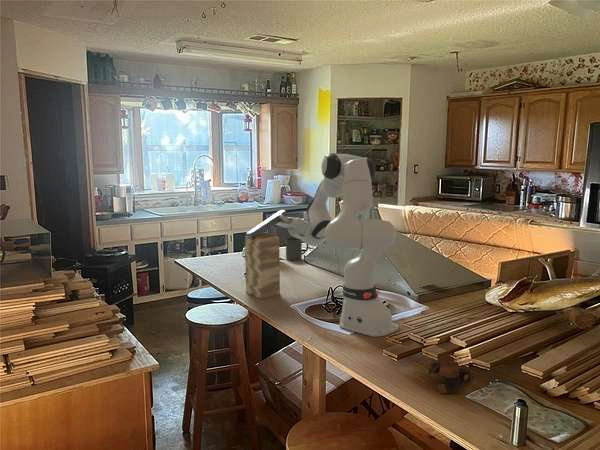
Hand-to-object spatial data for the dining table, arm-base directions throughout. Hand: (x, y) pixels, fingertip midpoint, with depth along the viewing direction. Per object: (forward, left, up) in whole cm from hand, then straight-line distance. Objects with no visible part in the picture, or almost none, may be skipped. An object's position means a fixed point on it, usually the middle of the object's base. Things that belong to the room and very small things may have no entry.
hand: (276, 215), depth 216 cm
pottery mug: (-102, +18, -35) cm, 109 cm away
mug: (+41, -46, -35) cm, 71 cm away
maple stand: (0, +8, -35) cm, 36 cm away
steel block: (0, +5, -5) cm, 7 cm away
